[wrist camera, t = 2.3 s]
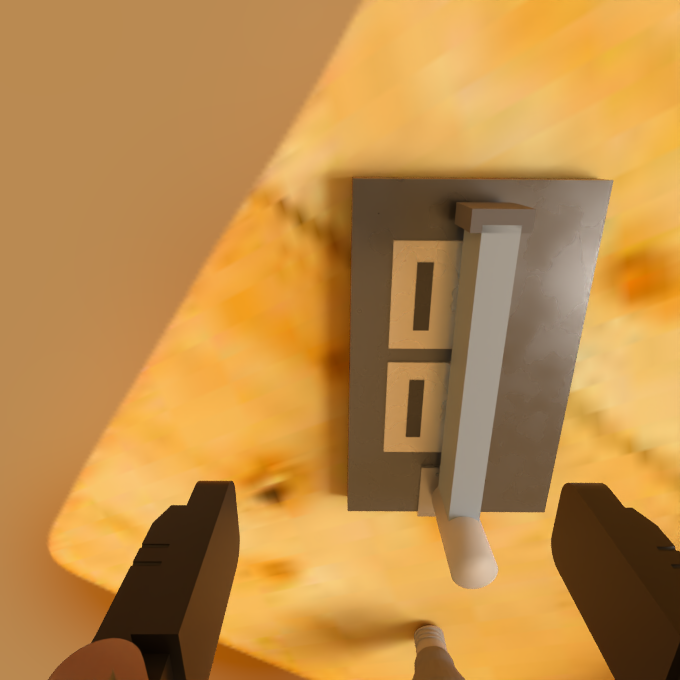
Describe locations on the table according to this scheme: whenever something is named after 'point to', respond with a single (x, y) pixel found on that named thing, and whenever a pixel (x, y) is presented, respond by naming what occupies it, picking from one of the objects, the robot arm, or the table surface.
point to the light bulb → (433, 656)
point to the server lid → (438, 330)
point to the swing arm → (476, 381)
